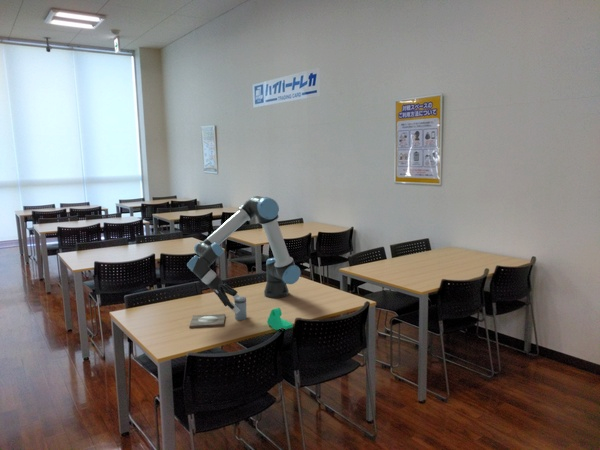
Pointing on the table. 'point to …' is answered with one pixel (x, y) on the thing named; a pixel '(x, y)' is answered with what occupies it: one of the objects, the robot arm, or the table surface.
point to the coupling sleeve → (241, 304)
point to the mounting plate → (207, 321)
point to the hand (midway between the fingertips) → (241, 307)
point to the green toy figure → (278, 320)
